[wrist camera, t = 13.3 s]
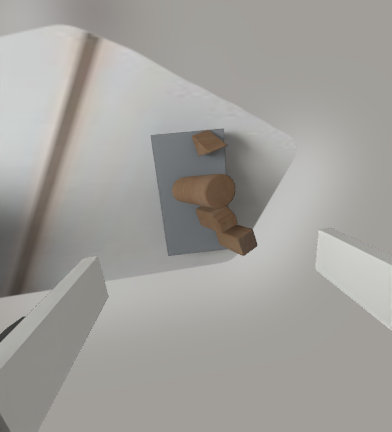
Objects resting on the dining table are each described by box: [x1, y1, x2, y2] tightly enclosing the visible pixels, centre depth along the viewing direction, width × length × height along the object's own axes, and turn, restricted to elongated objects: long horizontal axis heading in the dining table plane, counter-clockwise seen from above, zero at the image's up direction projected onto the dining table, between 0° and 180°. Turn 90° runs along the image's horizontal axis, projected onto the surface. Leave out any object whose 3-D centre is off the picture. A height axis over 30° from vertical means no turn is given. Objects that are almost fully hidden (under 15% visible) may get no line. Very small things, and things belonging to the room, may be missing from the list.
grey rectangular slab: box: [151, 129, 228, 256], centre depth 34 cm, size 11×20×4 cm, turn 5°
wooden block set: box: [172, 130, 257, 256], centre depth 27 cm, size 18×9×10 cm, turn 21°
